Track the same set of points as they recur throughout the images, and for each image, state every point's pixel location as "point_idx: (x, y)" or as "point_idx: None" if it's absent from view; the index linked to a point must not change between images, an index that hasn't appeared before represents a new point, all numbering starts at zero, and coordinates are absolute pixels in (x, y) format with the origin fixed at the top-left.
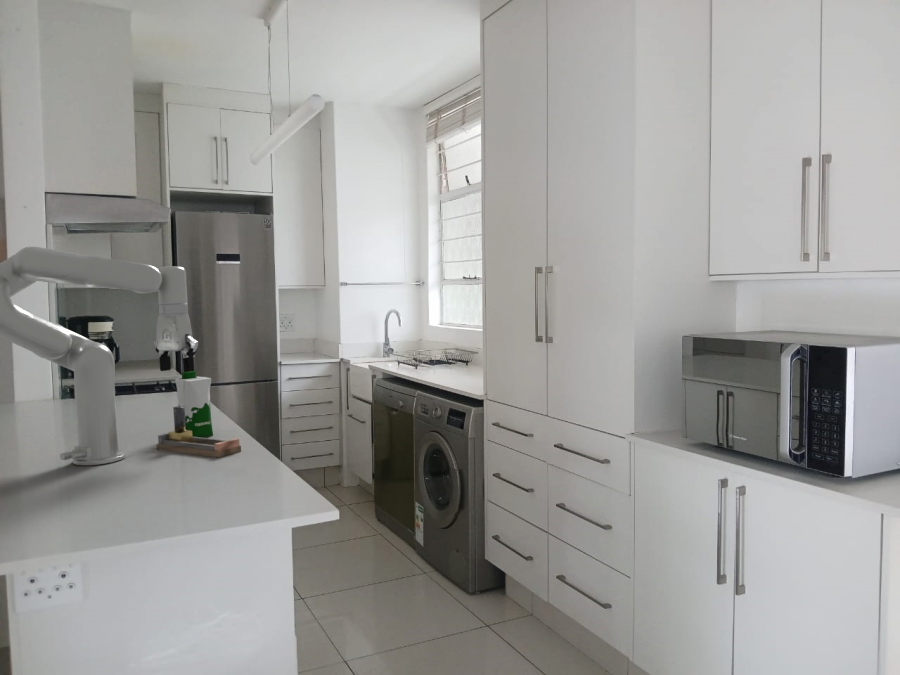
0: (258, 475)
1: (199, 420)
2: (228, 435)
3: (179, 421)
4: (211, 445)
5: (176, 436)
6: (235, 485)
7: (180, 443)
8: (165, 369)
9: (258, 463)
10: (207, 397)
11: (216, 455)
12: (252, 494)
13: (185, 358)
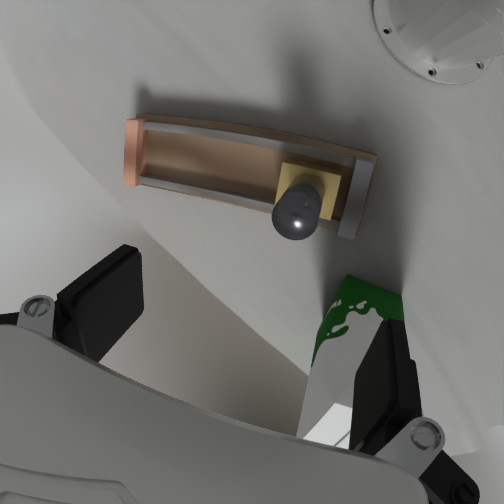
0: (31, 57)
1: (329, 315)
2: (284, 323)
3: (290, 185)
4: (158, 128)
5: (304, 164)
6: (35, 10)
7: (273, 139)
8: (371, 345)
9: (60, 109)
10: (307, 384)
11: (146, 114)
12: (11, 5)
13: (63, 304)
